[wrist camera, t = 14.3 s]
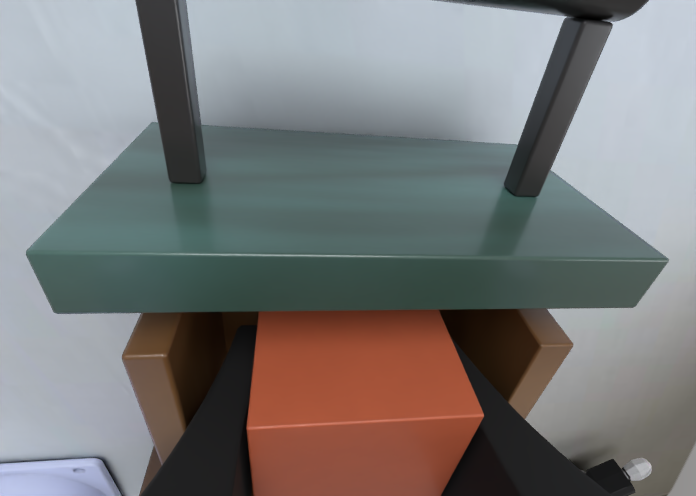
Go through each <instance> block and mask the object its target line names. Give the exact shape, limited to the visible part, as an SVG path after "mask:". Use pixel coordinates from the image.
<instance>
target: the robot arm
mask: <svg viewBox="0 0 696 496" xmlns="http://www.w3.org/2000/svg"><path fill="white" fill-rule="evenodd" d="M256 332H257V325H241V326H240V327H239V328H237V331H236V334H235V337H234V339H233V342H232V344H231V347H230V349H229V351H228V354H227V356H226V358H225V360H224V362H223V364H222V366H221V368H220V370H219V372H218V374H217V376H216V378H215V380H214V382H213V384H212V385H211V387H210V389H209V391H208V393H207V395H206V397H205V398H204V400H203V402H202V404H201V405H200V407H199V409H198V410H197V412H196V414H195V415H194V417H193V419H192V420H191V422H190V424H189V425H188V427H187V429H186V430H185V432H184V433H183V435H182V437H181V438H180V440H179V441H178V443H177V444H176V446H175V447H174V449H173V450H172V452H171V453H170V455H169V456H168V458H167V459H166V460H165V462H164V463H163V465H162V466H161V468H160V469H159V471H158V472H157V473H156V475H155V476H154V478H153V479H152V480H151V482H150V483H149V484H148V486H147V487H146V488H145V490H144V491H143V492H142V494H141V495H140V496H251V493H252V480H251V470H250V460H249V449H248V439H247V429H246V427H247V417H248V408H249V399H250V389H251V380H252V370H253V361H254V351H255V342H256ZM450 337H451V336H450ZM451 339H452V337H451ZM452 342H453V344H454V346H455V349H456V351H457V353H458V356H459V358H460V360H461V363H462V365H463V367H464V369H465V372H466V374H467V376H468V379H469V381H470V383H471V386H472V388H473V390H474V392H475V395H476V397H477V399H478V402H479V404H480V406H481V409H482V411H483V413H484V417H483V419H482V421H481V423H480V425H479V427H478V428H477V430H476V432H475V434H474V436H473V438H472V439H471V441H470V443H469V445H468V447H467V449H466V450H465V452H464V454H463V456H462V458H461V459H460V461H459V463H458V465H457V467H456V469H455V470H454V472H453V474H452V476H451V478H450V480H449V481H448V483H447V485H446V487H445V489H444V491H443V492H442V494H441V496H612V495H611V494H610V493H608V492H607V491H606V490H605V489H603V488H602V487H601V486H600V485H598V484H597V483H596V482H595V481H593V480H592V479H591V478H590V477H589V476H587V475H586V474H585V473H584V472H582V471H581V470H580V469H579V468H577V467H576V466H575V465H574V464H573V463H572V462H570V461H569V460H568V459H567V458H566V457H565V456H563V455H562V454H561V453H560V452H559V451H558V450H557V449H556V448H555V447H553V446H552V445H551V444H550V443H549V442H548V441H547V440H546V439H545V438H544V437H543V436H541V435H540V434H539V433H538V432H537V431H536V430H535V429H534V428H533V427H532V426H531V425H530V424H529V423H528V422H527V421H526V420H525V419H524V418H523V417H522V416H521V415H520V414H519V413H518V412H517V411H516V410H515V409H514V408H513V407H512V406H511V405H510V404H509V403H508V402H507V401H506V400H505V399H504V398H503V396H502V395H501V394H500V393H499V392H498V391H497V390H496V389H495V388H494V387H493V385H492V384H491V383H490V382H489V381H488V380H487V379H486V378H485V376H484V375H483V374H482V373H481V372H480V371H479V370H478V368H477V367H476V366H475V365H474V364H473V363H472V361H471V360H470V359H469V358H468V357H467V355H466V354H465V353H464V352H463V351H462V349H461V348H460V347H459V346H458V345H457V343H456V342H455V341H454V340H453V339H452ZM0 496H121V494H120V492H119V490H118V488H117V487H116V485H115V483H114V481H113V479H112V477H111V476H110V474H109V472H108V470H107V468H106V467H105V465H104V463H103V461H102V460H100V459H97V458H81V459H65V460H50V461H34V462H18V463H3V464H0Z"/></svg>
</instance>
